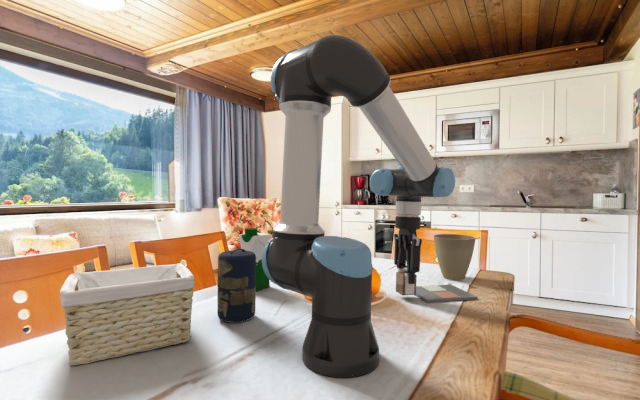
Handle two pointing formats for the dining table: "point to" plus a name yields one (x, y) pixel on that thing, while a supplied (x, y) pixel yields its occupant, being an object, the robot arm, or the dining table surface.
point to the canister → (236, 285)
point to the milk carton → (256, 253)
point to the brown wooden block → (403, 283)
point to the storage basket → (126, 311)
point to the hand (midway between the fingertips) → (405, 291)
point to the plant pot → (454, 254)
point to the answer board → (442, 293)
